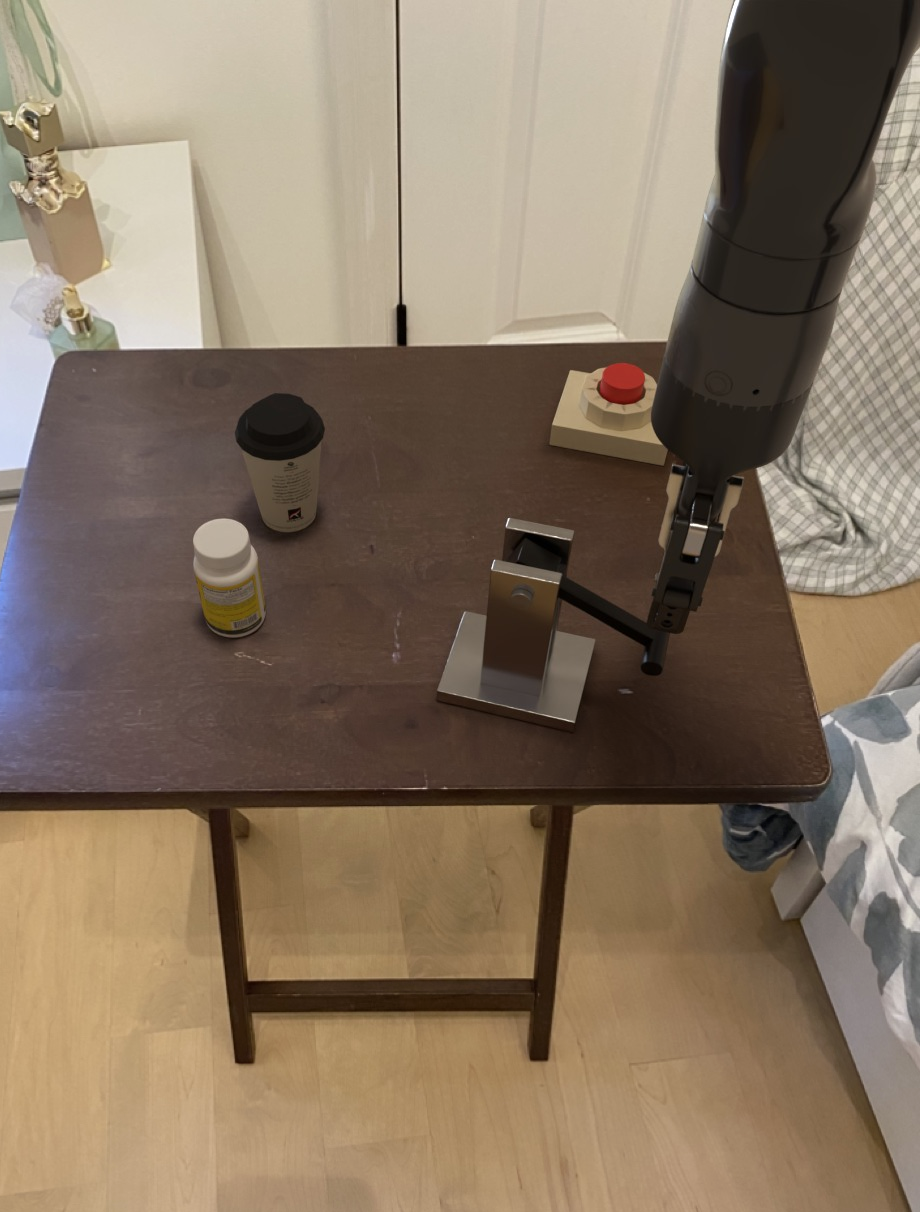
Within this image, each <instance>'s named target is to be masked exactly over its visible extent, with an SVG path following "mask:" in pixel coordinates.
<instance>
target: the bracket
mask: <svg viewBox="0 0 920 1212" xmlns="http://www.w3.org/2000/svg"><path fill="white" fill-rule="evenodd" d="M574 536H575V530H573V529H568V528H563V527H559V526H553V525H548V524H544V523H543V524H542V523H538V522H534V521H528V520H524V519H518V518H514V517H513V518H512V517H509V518H507V521H506V525H505V530H504V537H503V539H504V540H503V547H502V556H501V559H500V560H499V559H494V560H493V562H492V566H491V567H490V574H489V586H488V587H489V588H488V597H487V605H486V606H487V607H486V615H485V614H481V613H476V612H472V611H468V610H464V612H463V615H462V618H461V621H460V623H459V626H458V629H457V632H456V635H455V638H454V641H453V642H452V643H453V644H452V647H451V648H450V652H449V655H448V658H447V660H446V664H445V666H444V669H443V672H442V674H441V678H440V680H439V684H438V687H437V688H436V701H437V702H441V703H445V704H449V705H450V704H451V705H455V706H458V707H464V708H467V709H471V710H476V711H480V712H485V713H489V714H493V715H497V716H501V717H506V718H511V719H514V720H518V721H524V722H527V723H532V724H536V725H540V726H544V727H548V728H552V729H557V730H562V731H565V732H570V733H573V732H574V729H575V725H576V722H577V718H578V715H579V709H580V705H581V702H582V698H583V694H584V691H585V690H584V689H585V685H586V683H587V682H586V681H587V677H588V673H589V669H590V665H591V662H592V657H593V653H594V650H595V645H596V638H592V637H587V636H583V635H579V634H573V633H569V632H564V631H559V630H558V628H559V622H560V616H561V612H562V605H563V600H562V599H560V598H558V596H559V590H560V585H561V579H562V575H564V576H565V577H567V576H568V571H569V565H570V559H571V554H572V548H573V543H574ZM525 538H527V539H528V540H530V541H532V542H534V543H535V544H537V545H539V546H541V547H542V548H544V549H546V550H548V551H549V552H551V553H553V554H555V555H556V556H558V557H560V558H561V560H560V564H559V567H558V571H557V572H554V571H549V570H544V569H539V568H534V567H529V566H525V565H520V564H515V563H510V562H507V559H508V557H509V556H510V555H511V554H512V553H513V551H514V550H515V549H516V548H517V547H518V546H519V544H520V543H521V542H522V541H523V540H524V539H525ZM567 578H568V577H567Z"/></svg>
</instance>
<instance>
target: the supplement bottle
mask: <svg viewBox="0 0 920 1212" xmlns="http://www.w3.org/2000/svg"><path fill="white" fill-rule="evenodd" d="M192 544H193V552H194V557H193V562H192V563H193V564H192V566H193V567H192V568H193V572H194V577H195V582H196V585H197V590H198V594H199V598H200V603H201V607H202V612H203V615H204V620H205V622H206V625H207V626H208V628H209V629H210V630H211V631H212V632H213V633H215V634H217V635H219V636H220V637H221V636H222V637H226V638H243V637H245V636H249V635H250V634H252V633H254V632H256V631H257V630H258V629H259V628H260V627H261V626H262V624H263V623H264V621H265V619H266V614H267V607H266V601H265V594H264V589H263V582H262V577H261V570H260V564H259V563H260V562H259V557H258V554H257V552H256V549H255V547H254V546H253V545H252V544H251V539H250V533H249V531H248V528H246V526H245V525H244V524H243V523H241V522H239V521H238V520H235V519H231V518H215V519H212V520H209V521H206V522H205V523H203V524H202V525H200V526H199V527H198V528H197V530H196V531H195V533H194V534H193V539H192Z"/></svg>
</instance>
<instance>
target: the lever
mask: <svg viewBox="0 0 920 1212" xmlns="http://www.w3.org/2000/svg"><path fill="white" fill-rule="evenodd" d="M560 560H561V558H560V557H558V556H556V555H555V554H553V553H551V552H549V551H548V550H546V549H544V548H542V547H541V546H539V545H537V544H535V543H534V542H532V541H530V540H528V539H527V538H525V539H524V540H523V541H522V542H521V543H520V544H519V546H518V547H517V548H516V549H515V550H514V551H513V553H512V554H511V555H510V556H509V557H508V559H507V562H510V563H515V564H520V565H525V566H529V567H534V568H539V569H544V570H549V571H554V572H557V571H558V567H559V564H560ZM558 598H560V599H562V601H563V602H565V603H567V604H569V605H570V606H573V607H574V608H576V609H577V610H579V611H581V612H583V613H585V614H586V615H589V616H590V617H592V618H594V619H595V620H597V621H599V622H600V623H603V624H604V625H606V626H608V627H610V628H611V629H613V630H615V631H616V632H619V633H620V634H622V635H624V636H626V637H627V638H629V639H631V640H633V641H634V642H636V643H637V644H639V645H641V646H643V647H644V649H643V654H642V659H641V661H640V662H641V663H640V670H641V672H642V673H643V674H644V675H647V676H651V677H657V676H660V675H661V674H662V673H663V670H664V666H665V661H666V655H667V651H668V646H669V641H670V636H671V633H668V632H663V631H659V630H654V629H651V628H649V627H648V626H647V621H644V620H642V619H641V618H639V617H637V616H636V615H634V614H632V613H631V612H629V611H627V610H625V609H624V608H621V607H620V606H618V605H616V604H614V603H613V602H611V601H609V600H607V599H605V598H604V597H602V596H600V595H598V594H597V593H595V592H593V591H591V590H590V589H588V588H587V587H584V586H583V585H582V584H579V583H578V582H576V581H574V580H572V579H571V578H569V577H565V576H564V575H562V579H561V585H560V590H559V596H558Z"/></svg>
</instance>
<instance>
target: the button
mask: <svg viewBox="0 0 920 1212" xmlns="http://www.w3.org/2000/svg"><path fill="white" fill-rule="evenodd" d="M606 367H607V368H606ZM606 367H604V368H605V370H604V371H603V374H602V380H601V385H600V395H601V397H602V398H603V399H605V400H606V401H608V402H610V403H615V404H620V405H628V404H634V403H636V402H637V401H639V400H640V398H641V396H642V392H643V387H644V382H645V374H644V373H645V372H644V371H643V370H642V369H641V368H640V367H639V366H636V365H634V364H631V363H628V362H627V363H625V362H618V363H613V364H612V363H611V364H610V365H608V366H606Z"/></svg>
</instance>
